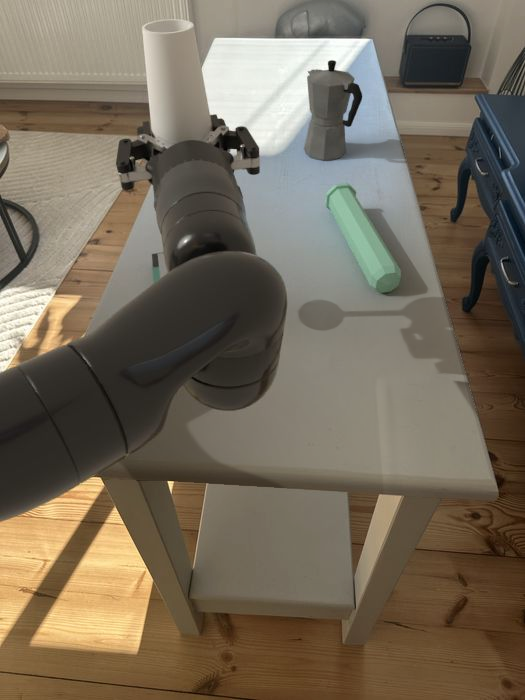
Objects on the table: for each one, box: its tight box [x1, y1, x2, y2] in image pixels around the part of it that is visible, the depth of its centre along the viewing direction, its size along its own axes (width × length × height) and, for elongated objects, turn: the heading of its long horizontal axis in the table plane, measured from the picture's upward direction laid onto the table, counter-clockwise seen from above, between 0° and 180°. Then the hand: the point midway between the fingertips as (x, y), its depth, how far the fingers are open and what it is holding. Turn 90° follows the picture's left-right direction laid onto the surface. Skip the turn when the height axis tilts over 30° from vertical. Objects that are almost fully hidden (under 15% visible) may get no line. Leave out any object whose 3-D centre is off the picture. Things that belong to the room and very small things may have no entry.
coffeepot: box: [303, 59, 363, 161], centre depth 99 cm, size 15×9×18 cm, turn 36°
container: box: [324, 182, 402, 294], centre depth 80 cm, size 6×6×25 cm
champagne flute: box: [141, 18, 213, 143], centre depth 53 cm, size 7×7×24 cm
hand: (181, 127), depth 53 cm, fingers closed on champagne flute, 6 cm apart
